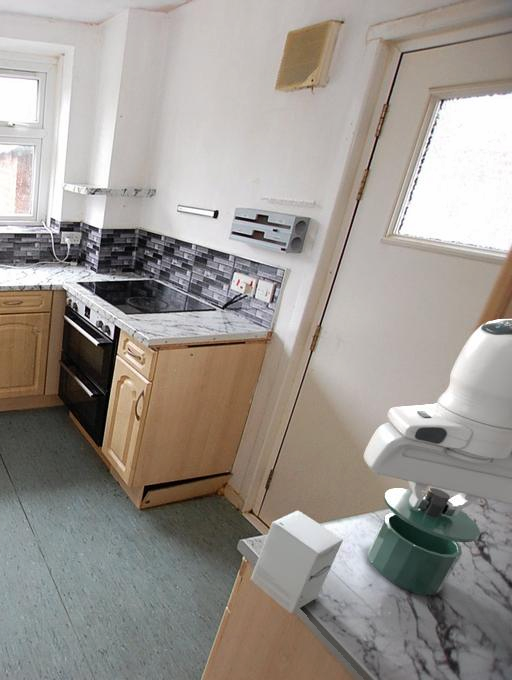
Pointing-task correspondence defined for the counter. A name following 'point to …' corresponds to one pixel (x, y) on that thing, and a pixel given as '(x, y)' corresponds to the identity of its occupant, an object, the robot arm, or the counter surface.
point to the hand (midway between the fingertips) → (431, 509)
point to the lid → (432, 515)
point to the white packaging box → (295, 560)
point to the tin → (412, 556)
